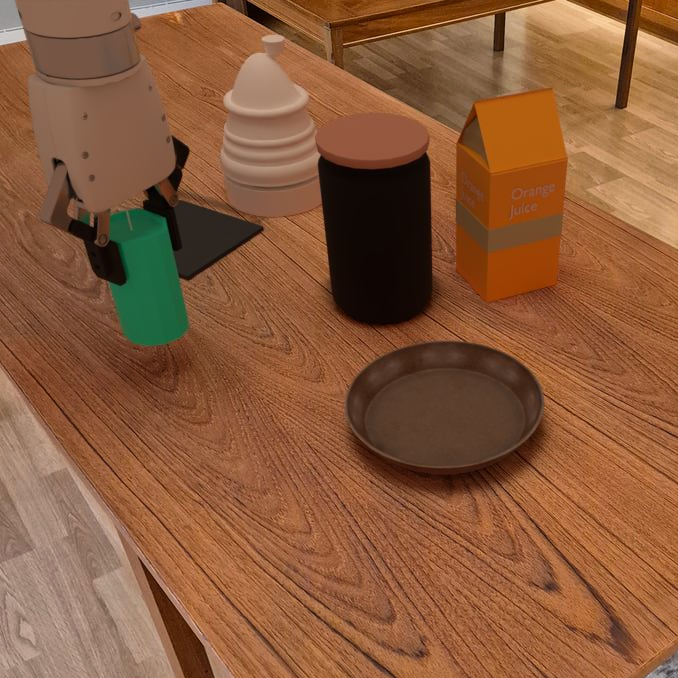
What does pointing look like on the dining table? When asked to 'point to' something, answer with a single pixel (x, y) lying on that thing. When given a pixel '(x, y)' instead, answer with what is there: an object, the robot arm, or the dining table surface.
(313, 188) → the honey pot
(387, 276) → the coffee jar
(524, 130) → the orange juice
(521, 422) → the plant saucer
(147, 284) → the candle
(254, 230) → the mat
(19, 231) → the dining table surface
